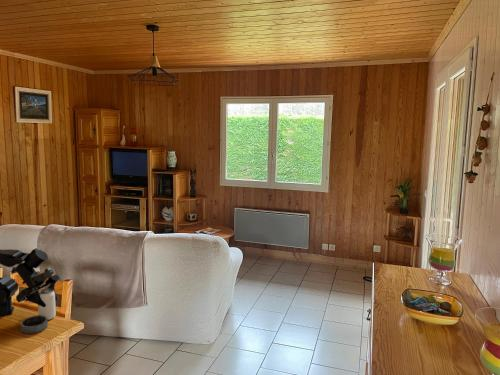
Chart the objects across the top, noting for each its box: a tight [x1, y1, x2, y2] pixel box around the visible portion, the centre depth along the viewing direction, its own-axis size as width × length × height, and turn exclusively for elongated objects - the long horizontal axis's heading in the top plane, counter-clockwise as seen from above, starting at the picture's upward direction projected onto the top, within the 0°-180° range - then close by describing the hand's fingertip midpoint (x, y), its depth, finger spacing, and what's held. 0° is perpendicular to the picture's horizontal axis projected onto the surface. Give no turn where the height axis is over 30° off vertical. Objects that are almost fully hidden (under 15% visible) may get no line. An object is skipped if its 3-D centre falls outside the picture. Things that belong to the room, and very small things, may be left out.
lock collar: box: [20, 315, 48, 335], centre depth 151 cm, size 9×9×3 cm
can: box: [37, 288, 57, 321], centre depth 159 cm, size 6×6×12 cm
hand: (50, 303), depth 158 cm, fingers closed on can, 6 cm apart
